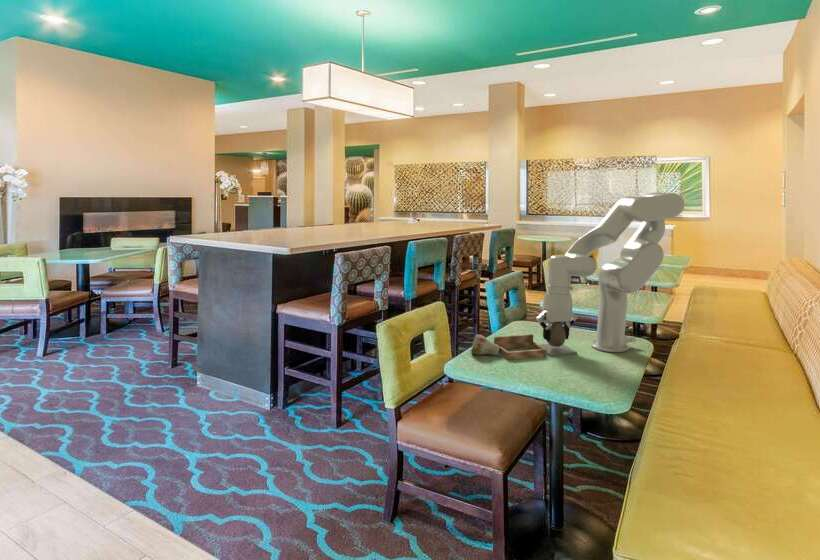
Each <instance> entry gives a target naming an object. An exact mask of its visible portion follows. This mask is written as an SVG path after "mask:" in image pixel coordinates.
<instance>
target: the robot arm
mask: <svg viewBox="0 0 820 560" xmlns="http://www.w3.org/2000/svg"><path fill="white" fill-rule="evenodd" d="M684 209H685V201H684V197H682V195H680V194H679V193H676V192H650V193H648V194H646V195H644V196H633V195H632V196H622V197H621V198H620V199H619V200H617V202H616V203H614V205H613V206H612V208H610V210H609V211H608V212H607V214H605V216H604V217H603V219H601V220H600V222H599V223H598V224H597V225H596V227H594V228H593V229H591V230H589V231H588V232H587V233H586V234H584V235H582V236H581V237H579V239H577V240H576V241H575V242H574V243H572V245H571V247H570V248H569V249H568V250H567V251H566V252H565V254H553V255H551V256H550V258H549V266H548V282H547V292H546V293H544V297H543V302H542V308H541V313H540V314H539V315H538V316H536V321H537V323H538V324H539V325H540V326H541V327H542V328H543V330H542V337H543V339H544V340H545V341H546V342H547V341H549V340H550V330H549V327H550V325H551V324H552V323H553V322H560V323H562V324H563V325H562V326H563V328H564V329H565V332H566V339H565V340H569V336H570V329H571V328H572V326H573V325H574V323H575V321H576V320H577V319H578V315H577V314H575V312H574V311H573V300H572V299H573V297H572V294H571V291H573V289H574V288H573V286H571V281H572V277H578V278H579V277H581V278H588V277H590V276H592V275H594V274H595V272H596V270H597V263H596V261H595V260H594V259H593V258H592V257H591V256H589V255H591V254H592V253H593V252H594V251H596V250H598V249H601V248H603V247H606V246H610V245H611V244H614V243H616V242H617V241H619V239H620V237H621V236H622V235H623V234H624V233H625V231H626V230H627V229H629V227H630V225H632V224H633V223H634V222H638V223H640V225H639V227H638V228H637V229H636V231H635V232H634V233H633V235H632V236H631V237H630V238H629V239H628V240H627V242H626V243H625V244H624V245H623V247H622V248H621V250H620V253H619V255H620V258H621V260H622V261H623V262H624V263H622V262H618V261H609V262H606V263H605V264H603V265H602V266H601V268H599V272H598V277H597V278H598V286H599V299H598V302H599V303H598V313H597V325H596V326H597V327H596V340H592V341H591V347H592V348H594V349H596V350H598V351H603V352H608V353H624V352H627V351H628V350H629V345H628V343H635V342H636V337H635V336H628V335H625V334H626V333H625V332H626V321H627V310H628V294H634V293H635V294H636V293H637V292H638V291H640V290H641V289H642V288H643V287H644V286H645V284H646V283H647V282H648V281H649V280H650V279H651V277H652V276H653V275H654V274H655V273H656V272H657V270H658V269H659V268H660V266H661V264H662V263H663V259H664V253H665V252H664V249H663V247H662V246H661V245H660V244H659V242H660V241H661V240H662V239H663V237H664V235H665V231H666V221H665V220H668V219H674V218H676V217H678V216H679V215H680V214H681V213H682V212H683V211H684ZM543 320H544V321H543Z"/></svg>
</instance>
